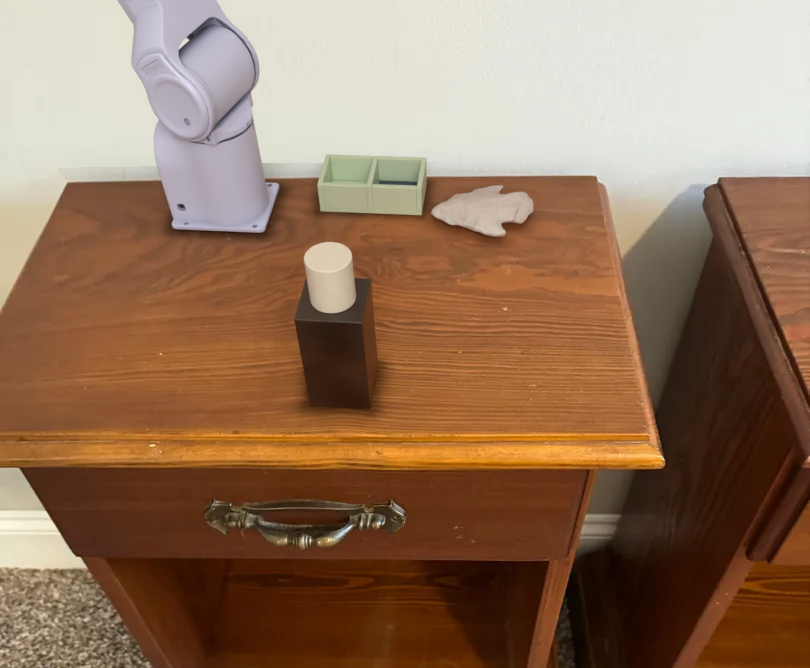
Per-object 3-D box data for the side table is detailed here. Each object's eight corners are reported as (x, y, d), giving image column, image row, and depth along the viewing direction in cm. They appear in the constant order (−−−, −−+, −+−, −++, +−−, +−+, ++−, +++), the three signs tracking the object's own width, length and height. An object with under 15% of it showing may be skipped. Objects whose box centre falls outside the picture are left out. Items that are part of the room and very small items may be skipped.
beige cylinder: (306, 312, 56) (299, 271, 53) (314, 282, 58) (308, 240, 55) (352, 314, 56) (348, 273, 53) (359, 284, 58) (355, 242, 55)
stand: (310, 406, 63) (293, 319, 56) (320, 363, 66) (306, 275, 59) (370, 409, 63) (362, 322, 55) (378, 366, 66) (371, 278, 58)
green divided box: (320, 211, 78) (316, 184, 76) (329, 180, 81) (325, 154, 79) (421, 215, 77) (421, 188, 75) (426, 184, 80) (426, 157, 78)
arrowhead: (530, 199, 79) (432, 192, 79) (534, 175, 77) (434, 168, 77) (531, 249, 75) (428, 241, 75) (536, 226, 72) (429, 218, 73)
